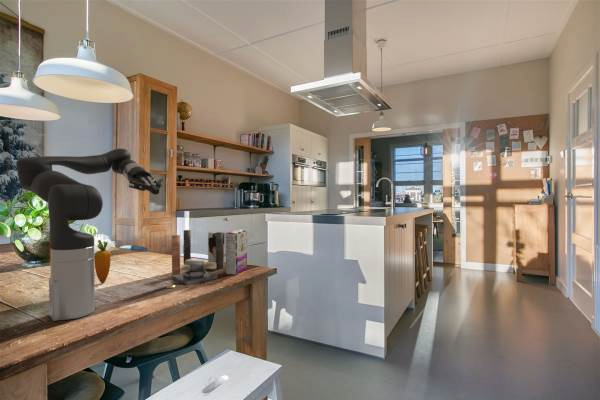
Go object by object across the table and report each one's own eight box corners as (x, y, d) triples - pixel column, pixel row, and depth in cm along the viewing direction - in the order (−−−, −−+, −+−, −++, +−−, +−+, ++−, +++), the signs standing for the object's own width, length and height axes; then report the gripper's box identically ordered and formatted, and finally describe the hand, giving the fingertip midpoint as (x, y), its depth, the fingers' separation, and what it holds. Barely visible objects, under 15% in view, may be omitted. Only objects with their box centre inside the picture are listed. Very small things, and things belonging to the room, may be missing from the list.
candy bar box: (236, 268, 135) (236, 229, 135) (247, 268, 134) (247, 229, 134) (224, 274, 124) (224, 232, 124) (236, 275, 123) (237, 232, 123)
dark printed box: (213, 269, 131) (213, 233, 131) (205, 267, 136) (205, 231, 136) (227, 267, 136) (227, 232, 136) (219, 264, 141) (219, 230, 140)
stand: (168, 288, 105) (168, 279, 105) (153, 281, 114) (153, 272, 113) (218, 278, 118) (218, 270, 118) (201, 272, 127) (201, 264, 127)
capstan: (212, 276, 108) (212, 236, 107) (162, 275, 109) (162, 235, 109) (228, 264, 126) (228, 230, 125) (185, 264, 127) (185, 229, 126)
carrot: (113, 283, 110) (113, 240, 110) (96, 286, 107) (96, 241, 106) (108, 280, 114) (108, 238, 113) (92, 283, 110) (92, 240, 110)
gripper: (152, 183, 132) (172, 200, 122) (118, 184, 123) (136, 203, 113) (154, 166, 130) (175, 181, 120) (119, 166, 120) (138, 183, 110)
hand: (156, 192), depth 116 cm, fingers closed
